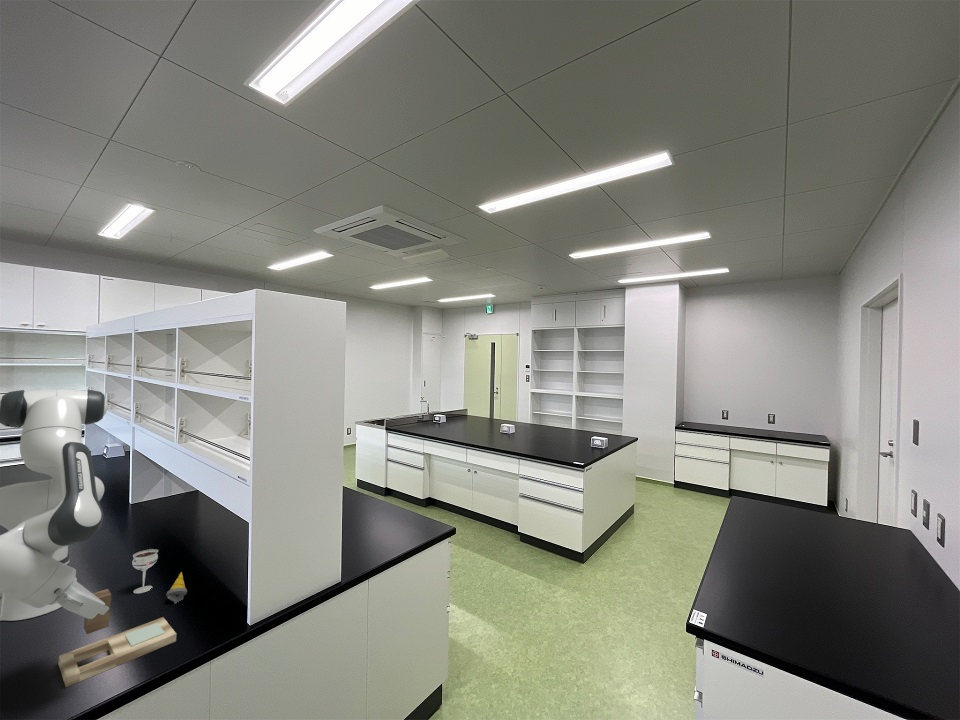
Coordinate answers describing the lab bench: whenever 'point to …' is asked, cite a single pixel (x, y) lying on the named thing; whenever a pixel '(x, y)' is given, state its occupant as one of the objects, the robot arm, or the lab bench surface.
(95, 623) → the walnut peg
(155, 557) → the wineglass
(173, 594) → the ice cream cone
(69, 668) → the puzzle board
